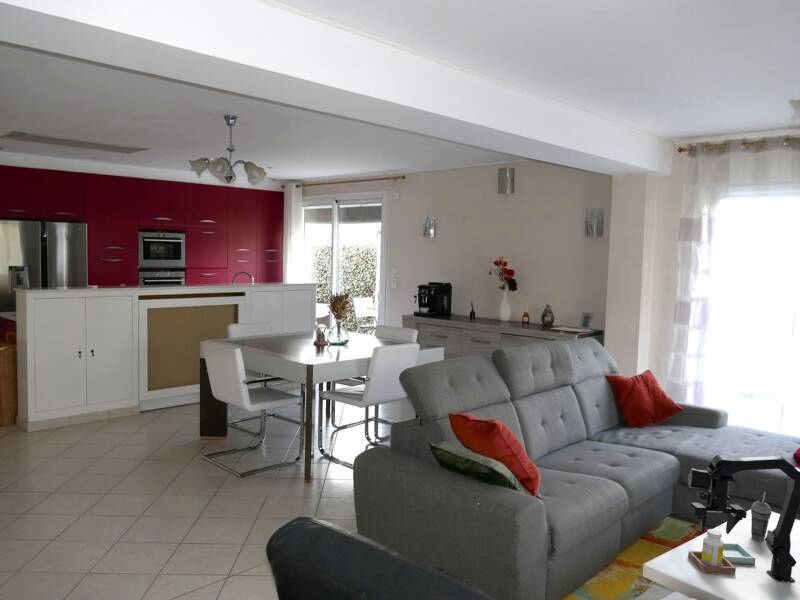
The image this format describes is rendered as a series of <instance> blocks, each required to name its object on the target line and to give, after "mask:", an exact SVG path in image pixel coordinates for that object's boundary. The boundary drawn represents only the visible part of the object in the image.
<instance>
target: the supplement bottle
mask: <svg viewBox="0 0 800 600" xmlns="http://www.w3.org/2000/svg"><path fill="white" fill-rule="evenodd" d="M706 534H707V535H705V536H704V537H703V540H702V549H701V550H702V551H701V552H702V559H700V561H701V562H702V563H703V564H704V565H705V566H723V565H722V557H723V547H724V543H725V542H724V541H723V539H721V538H722V536H723V533H722V532H721V531H720V530H717V529H713V528H709V529H707V530H706Z"/></svg>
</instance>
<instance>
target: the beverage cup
mask: <svg viewBox="0 0 800 600" xmlns="http://www.w3.org/2000/svg"><path fill="white" fill-rule="evenodd" d="M765 497H766V491H763V496H762V500H756V501H754V502H753V503H752V504H751V507H750V512H751V531H750V532H751V539H753V540H754V541H757V542H765V540H764V539H765V538H766V536H767V532H768V526H769V521H770V518H771V515H772V508H771V506H770V505H769V503H767V502H766V501H765Z"/></svg>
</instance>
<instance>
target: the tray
mask: <svg viewBox="0 0 800 600" xmlns="http://www.w3.org/2000/svg"><path fill="white" fill-rule="evenodd" d="M723 557H724V558H726V559H727V560H728V561H729V562H730V563H731V564H732V565H733V564H734V565H750V566H751V565H752V566H753V565H754V566H755V565H756V557H755V556H754V555H752V554H751V553H750V552H749V551H748V550H746V549H745V547H743V546H742V545H741V544H740V543H736V542H735V543H734V542H724V547H723Z"/></svg>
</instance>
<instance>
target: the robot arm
mask: <svg viewBox="0 0 800 600" xmlns="http://www.w3.org/2000/svg"><path fill="white" fill-rule="evenodd" d="M761 470H762V471H764V470H780V471H782V472H783V473H784V474H785V475H786V476H787V480H786V484H787V493H786V495H785V499H784V501H783V505H782V509H781V511H780V514H779V516H778V517H779V518H778V521H777V524H776V526H775V528H774V529H773V530H769V529H767V531H766V536H765V539H764V542H765V545H766V548H767V549H768V551H769V552H770V553H771V555H772V559H771V564H770V569H769V570H766V573H767V574H768V575H770V576H771V577H772V578H773V579H775V580H776V582H791V583H792V582H793V583H794V582H795V581H796V579H794V578H793V577H792V571H793V568H794V567H795V566H796V564H797V560H796V559H795V557H794V556H792V554H791V547H792V546H791V545H792V544H791V543H792V542H791V534H792V530H793V527H794V524H795V522H796V518H797V515H798V513H799V510H800V467H798V466H797V467H796V466H794V465H793V464H792V463H790V462H789V461H787V460H786V459H785V458H784V456H782V455H779V454H778V455H777V454H776V455H769V456H768V455H767V456H766V455H764V456H749V457H748V456H747V457H746V456H745V457H737V456H732V455H727V454H725V455H724V454H717V455H715V456H714V457H713V458H712V459H711V461H710V463H709V464H708V465H707V466H706V467H705V468H704V469H703V470H702V469H697V468H693V467H691V468H690V470H689V474H688V475H687V485H688V488H691V489H698V490H696V498H695V499H696V500H698V501H701V503H700V502H689V504H688V506H687V507H688V508H687V510H688V511H689V512H690V513H692V514H693V515H694V516H696V518H697V521H698V525H699V529H700V533H702V534H704V532H705V530H706V526H707V525H706V524H707V520H708V516H706V515H707V514H708V513H714V514H717V513H718V514H726V516H727V517H726V518H727V520H726V527H725V533H726V534H727V535H729V534H730V533H731V532H732V531H733V529H734V527H735V526H737V524H738V523H739V522H740V521H742V520H743V519H747V516H748V515H747V510H746V509H745V508H743V507H742V506H741V505H740V504H733V503H732V504H728V501H730V500H731V497H730V496H729V490H730V489H729V488H730V482H732V483H736V482H737V479H736V478H735V477H734V476H733V475H735V474H737V473H741V472H745V471H761ZM707 489H708V491H707ZM709 489H710V490H709ZM704 490H706V491H707V493H705V491H704ZM702 503H705V505H706V506H705V505H703V504H702Z"/></svg>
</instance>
